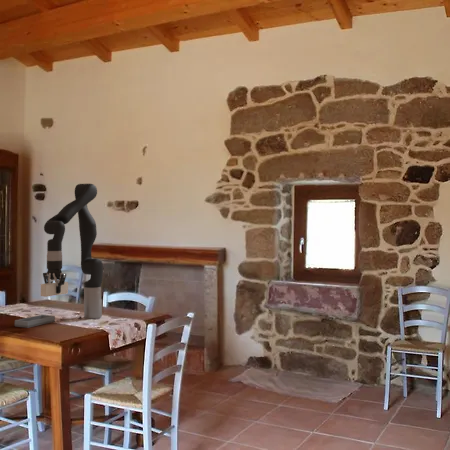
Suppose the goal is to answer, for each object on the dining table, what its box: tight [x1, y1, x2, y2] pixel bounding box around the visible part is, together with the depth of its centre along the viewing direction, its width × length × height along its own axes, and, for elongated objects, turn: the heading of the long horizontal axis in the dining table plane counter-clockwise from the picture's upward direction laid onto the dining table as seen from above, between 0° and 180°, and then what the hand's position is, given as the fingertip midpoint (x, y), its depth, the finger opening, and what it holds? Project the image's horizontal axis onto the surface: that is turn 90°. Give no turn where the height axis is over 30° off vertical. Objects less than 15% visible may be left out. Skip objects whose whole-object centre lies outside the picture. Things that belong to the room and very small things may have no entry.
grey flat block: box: [14, 314, 56, 329], centre depth 278 cm, size 19×9×3 cm, turn 155°
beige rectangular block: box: [40, 281, 69, 298], centre depth 271 cm, size 14×4×6 cm, turn 148°
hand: (54, 292), depth 271 cm, fingers closed on beige rectangular block, 4 cm apart
